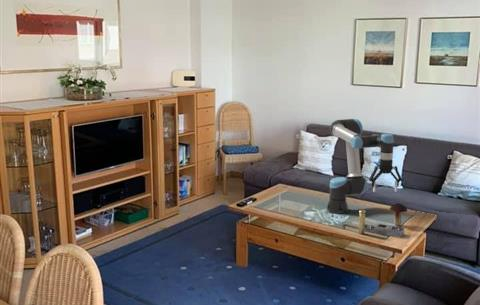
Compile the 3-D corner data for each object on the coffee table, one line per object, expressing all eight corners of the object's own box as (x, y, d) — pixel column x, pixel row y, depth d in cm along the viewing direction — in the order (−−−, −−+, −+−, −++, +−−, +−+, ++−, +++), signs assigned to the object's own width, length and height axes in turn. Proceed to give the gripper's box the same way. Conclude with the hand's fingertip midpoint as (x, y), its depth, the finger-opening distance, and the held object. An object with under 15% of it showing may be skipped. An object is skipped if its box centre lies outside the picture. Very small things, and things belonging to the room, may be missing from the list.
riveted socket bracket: (360, 230, 313) (360, 223, 312) (364, 226, 319) (364, 220, 318) (400, 237, 300) (401, 230, 299) (404, 234, 306) (404, 227, 305)
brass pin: (357, 234, 307) (357, 211, 304) (359, 231, 310) (360, 209, 307) (363, 235, 305) (364, 212, 302) (365, 233, 308) (366, 210, 305)
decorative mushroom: (386, 222, 326) (387, 201, 323) (402, 222, 327) (403, 200, 324) (392, 228, 315) (393, 206, 312) (409, 228, 316) (410, 205, 313)
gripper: (367, 160, 307) (366, 193, 311) (408, 159, 306) (406, 193, 310) (365, 157, 314) (363, 190, 318) (404, 157, 314) (402, 189, 318)
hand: (384, 191), depth 314 cm, fingers open, 13 cm apart
